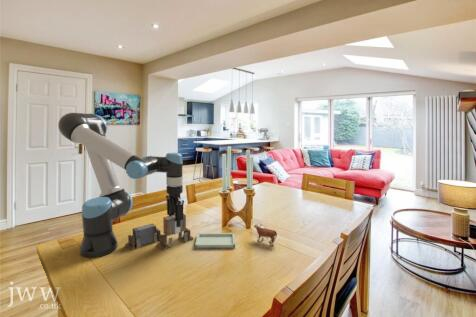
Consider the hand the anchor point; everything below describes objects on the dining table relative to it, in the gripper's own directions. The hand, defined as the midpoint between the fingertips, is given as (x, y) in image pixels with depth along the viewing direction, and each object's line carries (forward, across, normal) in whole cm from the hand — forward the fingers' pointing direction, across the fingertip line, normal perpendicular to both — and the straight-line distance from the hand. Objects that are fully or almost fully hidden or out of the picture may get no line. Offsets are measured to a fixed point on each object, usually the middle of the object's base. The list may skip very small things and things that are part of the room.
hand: (175, 231), depth 123 cm
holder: (+6, +9, +11) cm, 16 cm away
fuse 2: (0, 0, 0) cm, 0 cm away
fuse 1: (+6, +9, +11) cm, 16 cm away
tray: (+6, -13, -15) cm, 21 cm away
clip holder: (+6, 0, 0) cm, 6 cm away
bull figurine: (+6, -29, -34) cm, 45 cm away
